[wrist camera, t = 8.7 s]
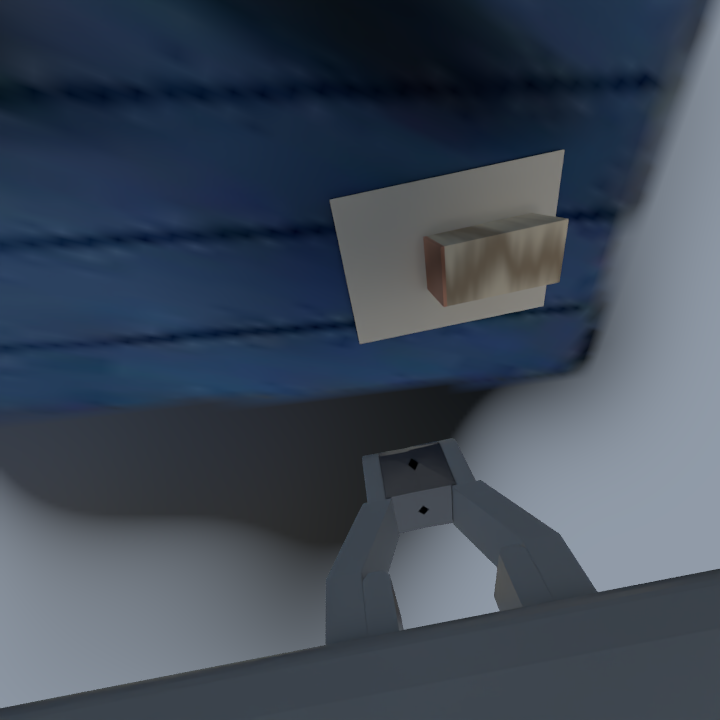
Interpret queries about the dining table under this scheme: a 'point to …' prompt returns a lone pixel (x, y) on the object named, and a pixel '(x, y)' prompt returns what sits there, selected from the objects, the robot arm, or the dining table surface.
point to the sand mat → (428, 217)
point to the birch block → (494, 258)
